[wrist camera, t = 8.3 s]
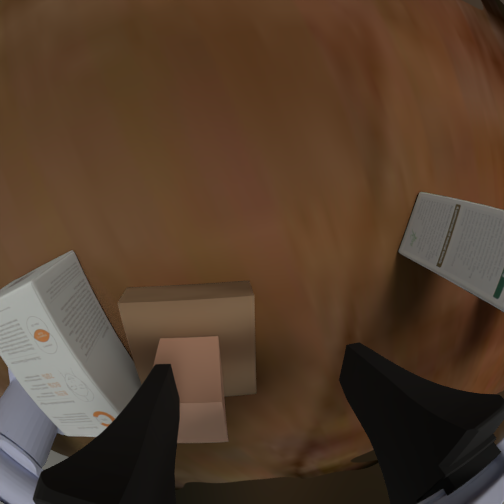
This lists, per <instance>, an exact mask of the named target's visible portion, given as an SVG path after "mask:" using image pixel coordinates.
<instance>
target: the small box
mask: <svg viewBox="0 0 504 504" xmlns="http://www.w3.org/2000/svg"><path fill="white" fill-rule="evenodd" d="M0 356H1V357H2V359H3V360H4V362H5V363H6V365H7V366H8V368H9V369H10V370H11V372H12V373H13V375H14V376H15V377H16V379H17V380H18V382H19V383H20V384H21V386H22V387H23V388H24V389H25V391H26V392H27V393H28V394H29V396H30V397H31V398H32V399H33V401H34V402H35V403H36V404H37V405H38V406H39V408H40V409H41V410H42V411H43V412H44V413H45V414H46V415H47V417H48V418H49V419H50V420H51V421H52V422H53V423H54V424H55V425H56V426H57V427H58V428H59V429H60V430H61V431H62V432H63V433H64V434H65V435H66V436H88V437H97V436H98V435H99V434H101V433H102V432H103V431H104V430H105V429H106V428H107V427H108V426H109V425H110V424H111V423H112V422H113V421H114V420H115V418H116V417H117V416H118V415H119V414H120V413H121V411H122V410H123V409H124V408H125V407H126V405H127V404H128V403H129V402H130V400H131V399H132V398H133V396H134V395H135V393H136V392H137V391H138V389H139V388H140V387H141V385H142V384H141V381H140V379H139V376H138V373H137V370H136V367H135V364H134V361H133V360H132V358H131V357H130V355H129V354H128V352H127V351H126V349H125V347H124V346H123V344H122V342H121V341H120V339H119V338H118V336H117V334H116V333H115V331H114V329H113V328H112V326H111V324H110V322H109V320H108V319H107V317H106V315H105V313H104V311H103V310H102V308H101V306H100V304H99V302H98V300H97V298H96V296H95V294H94V292H93V291H92V289H91V287H90V284H89V282H88V280H87V278H86V276H85V274H84V272H83V270H82V268H81V265H80V263H79V261H78V259H77V256H76V254H75V252H74V251H73V250H72V251H69V252H67V253H66V254H64V255H62V256H60V257H58V258H56V259H54V260H52V261H50V262H48V263H46V264H44V265H42V266H40V267H38V268H37V269H35V270H33V271H31V272H29V273H28V274H26V275H24V276H22V277H20V278H18V279H16V280H14V281H13V282H11V283H10V284H8V285H7V286H5V287H3V288H2V289H1V290H0Z"/></svg>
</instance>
